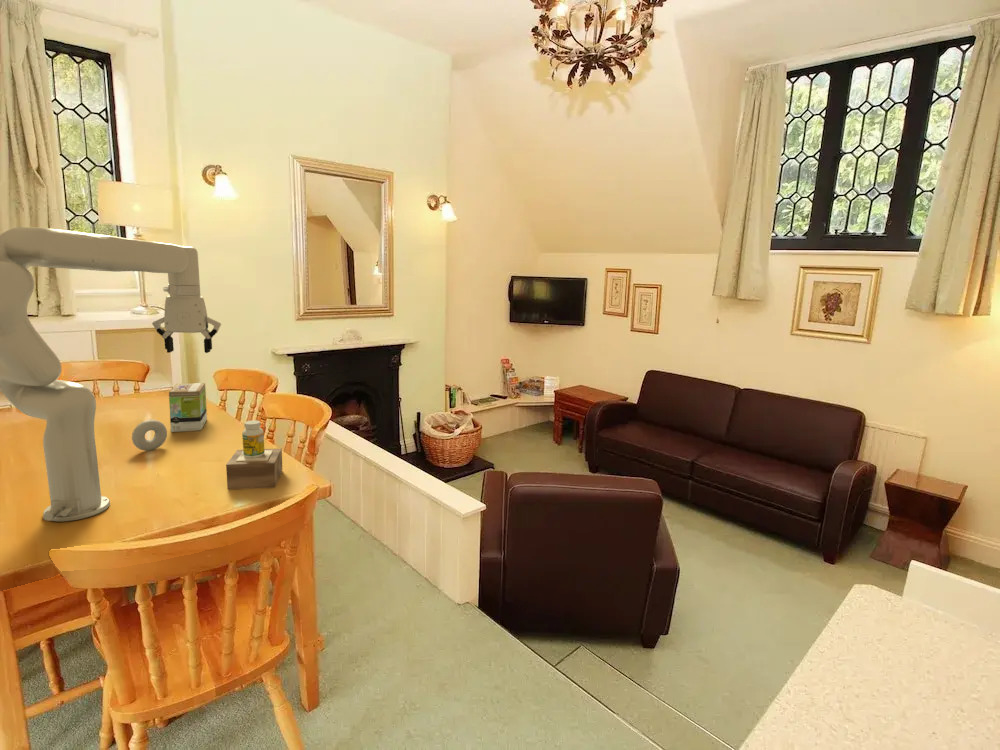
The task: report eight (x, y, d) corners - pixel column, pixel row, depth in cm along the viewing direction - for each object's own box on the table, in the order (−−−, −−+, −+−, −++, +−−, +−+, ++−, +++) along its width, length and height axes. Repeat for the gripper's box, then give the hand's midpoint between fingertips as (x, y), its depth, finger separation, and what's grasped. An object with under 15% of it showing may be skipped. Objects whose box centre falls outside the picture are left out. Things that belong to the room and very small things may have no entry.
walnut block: (275, 487, 148) (274, 461, 147) (227, 489, 146) (226, 463, 144) (282, 471, 160) (281, 447, 158) (238, 472, 157) (237, 448, 156)
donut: (136, 455, 167) (133, 424, 166) (131, 453, 169) (128, 422, 167) (170, 447, 176) (168, 417, 174) (165, 445, 178) (162, 415, 176)
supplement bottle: (268, 453, 153) (267, 420, 152) (257, 459, 148) (255, 425, 146) (251, 451, 154) (249, 418, 152) (239, 457, 149) (237, 424, 147)
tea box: (202, 430, 194) (199, 390, 191) (170, 432, 190) (167, 391, 187) (207, 419, 208) (205, 381, 205) (177, 421, 204) (174, 382, 201)
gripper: (144, 291, 146) (150, 354, 149) (214, 293, 149) (218, 354, 153) (155, 289, 153) (160, 349, 156) (222, 291, 157) (225, 350, 160)
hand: (189, 352), depth 154 cm, fingers open, 9 cm apart
